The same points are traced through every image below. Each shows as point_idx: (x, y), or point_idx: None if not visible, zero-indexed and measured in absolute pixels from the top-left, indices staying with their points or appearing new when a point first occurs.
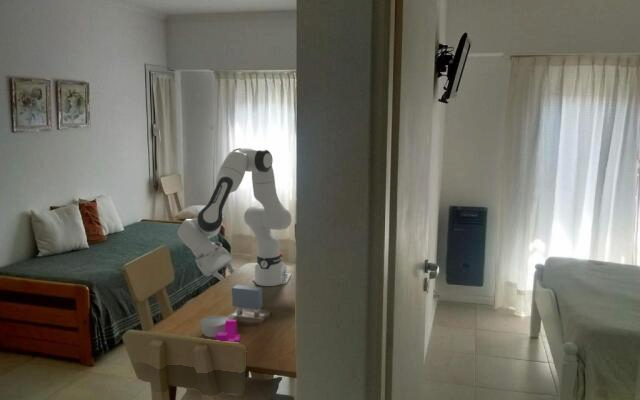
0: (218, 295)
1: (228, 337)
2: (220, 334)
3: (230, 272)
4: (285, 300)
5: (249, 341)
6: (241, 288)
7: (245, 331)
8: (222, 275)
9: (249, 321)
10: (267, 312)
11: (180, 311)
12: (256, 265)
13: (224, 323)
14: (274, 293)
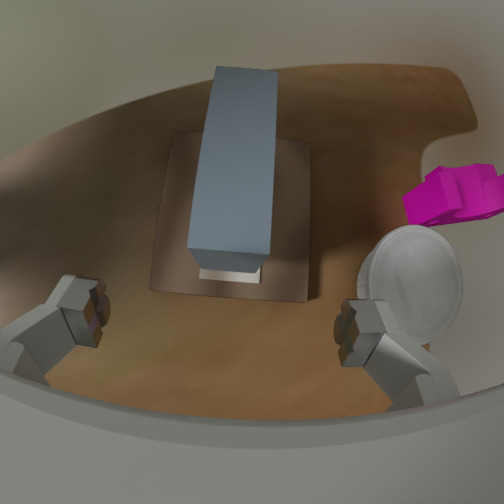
0: None
1: (491, 179)
2: None
3: (100, 321)
4: (42, 150)
5: (409, 153)
6: (263, 174)
7: (355, 184)
8: (363, 319)
9: (302, 180)
10: (190, 143)
11: None
12: None
13: (433, 230)
14: None
